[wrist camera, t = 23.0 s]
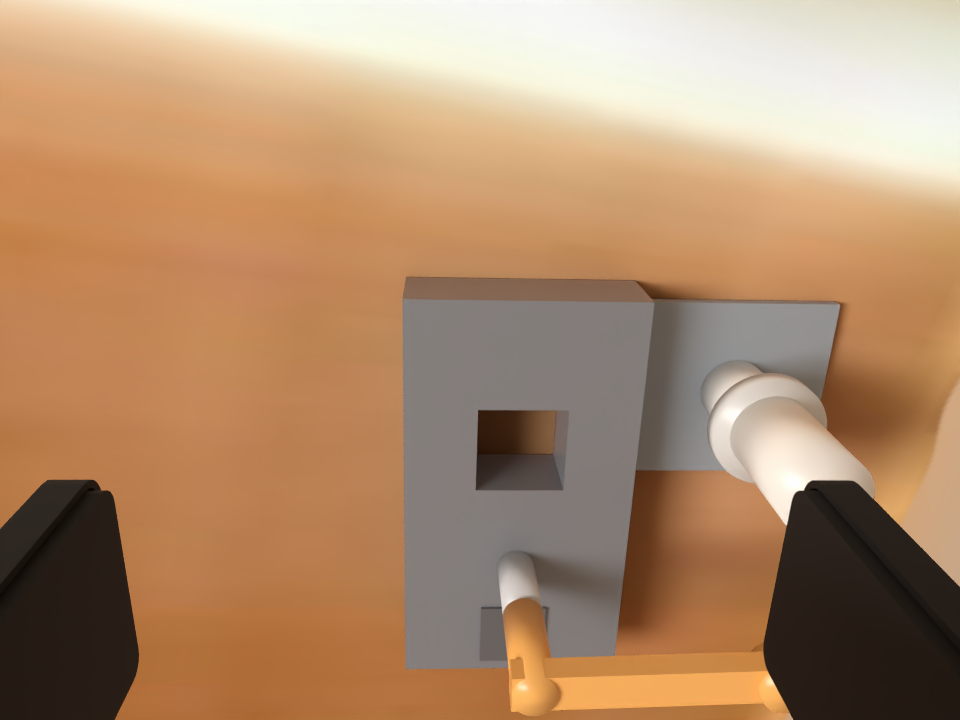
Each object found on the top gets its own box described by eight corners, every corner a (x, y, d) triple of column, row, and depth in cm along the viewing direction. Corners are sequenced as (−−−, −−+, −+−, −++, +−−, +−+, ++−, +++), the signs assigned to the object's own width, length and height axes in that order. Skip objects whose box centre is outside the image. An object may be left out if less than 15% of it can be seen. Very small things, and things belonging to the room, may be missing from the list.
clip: (765, 590, 39) (816, 672, 34) (759, 625, 40) (808, 712, 34) (503, 597, 38) (513, 682, 33) (502, 633, 39) (512, 722, 34)
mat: (651, 298, 41) (654, 302, 41) (835, 301, 42) (840, 304, 41) (633, 465, 45) (635, 470, 44) (802, 465, 46) (806, 470, 45)
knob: (689, 342, 42) (773, 438, 31) (791, 343, 42) (908, 439, 32) (676, 435, 44) (751, 555, 33) (773, 436, 44) (877, 555, 34)
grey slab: (406, 276, 40) (398, 324, 33) (635, 280, 41) (676, 327, 34) (408, 621, 48) (402, 720, 41) (600, 620, 49) (627, 716, 42)
